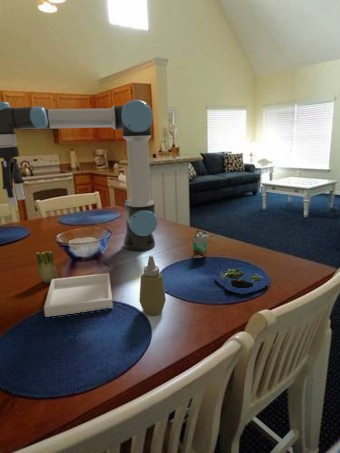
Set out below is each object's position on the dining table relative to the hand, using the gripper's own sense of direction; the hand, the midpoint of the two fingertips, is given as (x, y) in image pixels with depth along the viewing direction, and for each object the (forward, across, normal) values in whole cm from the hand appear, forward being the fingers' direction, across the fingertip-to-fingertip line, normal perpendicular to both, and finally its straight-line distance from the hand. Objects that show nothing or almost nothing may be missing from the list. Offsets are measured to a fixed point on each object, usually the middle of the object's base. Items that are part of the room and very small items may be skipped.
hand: (17, 202), depth 126 cm
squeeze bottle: (+30, +45, +43) cm, 70 cm away
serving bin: (+29, +32, +21) cm, 48 cm away
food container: (+31, +5, +72) cm, 79 cm away
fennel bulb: (+28, +16, +9) cm, 34 cm away
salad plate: (+32, +35, +77) cm, 91 cm away
